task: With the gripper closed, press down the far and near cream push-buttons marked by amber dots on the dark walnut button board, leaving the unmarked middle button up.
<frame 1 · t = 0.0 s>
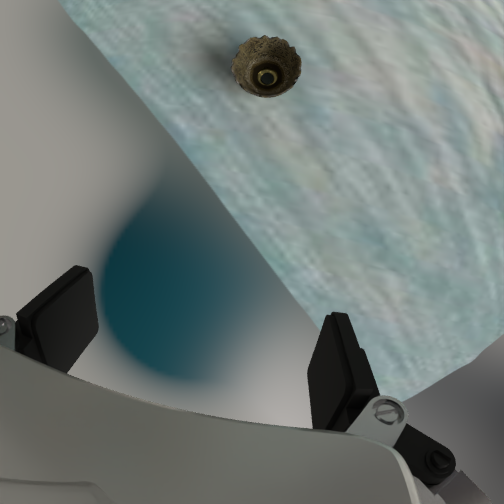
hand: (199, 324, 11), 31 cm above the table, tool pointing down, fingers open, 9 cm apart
dark tapered rough piece: (267, 78, 35), on the table
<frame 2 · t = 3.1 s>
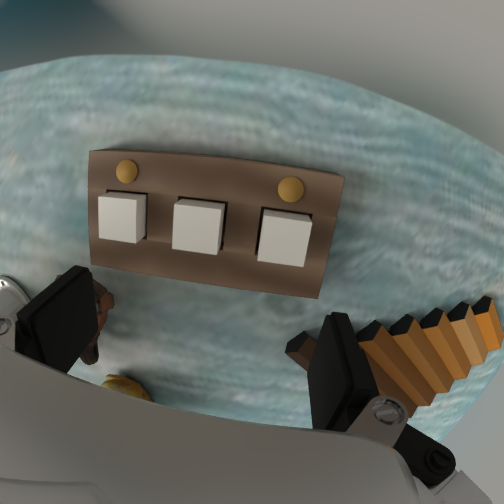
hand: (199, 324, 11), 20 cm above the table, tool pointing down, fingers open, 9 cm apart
button middle: (198, 225, 26), point 4 cm above the table, slide at 0.0 cm
button board: (206, 215, 30), on the table
pan flute: (412, 338, 35), on the table
pottery mug: (90, 305, 35), on the table
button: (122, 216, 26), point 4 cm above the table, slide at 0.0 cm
decorative figurine: (134, 388, 40), on the table
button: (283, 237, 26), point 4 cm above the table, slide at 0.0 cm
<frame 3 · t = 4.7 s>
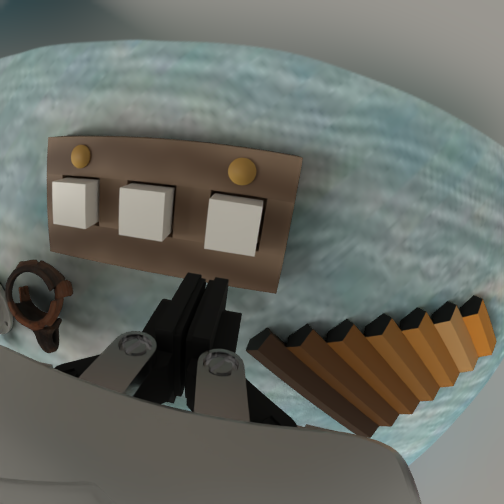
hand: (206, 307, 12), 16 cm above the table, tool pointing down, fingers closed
button middle: (146, 210, 24), point 4 cm above the table, slide at 0.0 cm
button board: (160, 201, 27), on the table
pan flute: (391, 340, 33), on the table
pottery mug: (53, 294, 33), on the table
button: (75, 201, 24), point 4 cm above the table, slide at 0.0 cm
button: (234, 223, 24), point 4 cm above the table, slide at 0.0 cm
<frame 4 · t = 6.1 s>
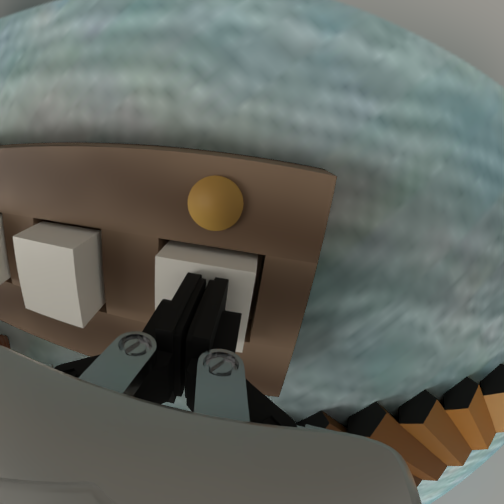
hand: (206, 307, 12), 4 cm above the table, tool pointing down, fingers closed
button middle: (59, 271, 13), point 4 cm above the table, slide at 0.0 cm
button board: (94, 245, 16), on the table
pan flute: (427, 412, 21), on the table
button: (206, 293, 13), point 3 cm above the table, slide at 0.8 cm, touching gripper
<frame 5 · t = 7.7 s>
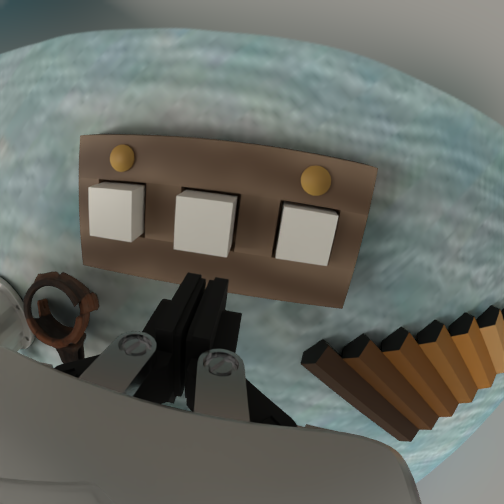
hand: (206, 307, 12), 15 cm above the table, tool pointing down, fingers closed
button middle: (205, 222, 22), point 4 cm above the table, slide at 0.0 cm
button board: (215, 210, 26), on the table
pan flute: (438, 345, 30), on the table
pottery mug: (75, 307, 32), on the table
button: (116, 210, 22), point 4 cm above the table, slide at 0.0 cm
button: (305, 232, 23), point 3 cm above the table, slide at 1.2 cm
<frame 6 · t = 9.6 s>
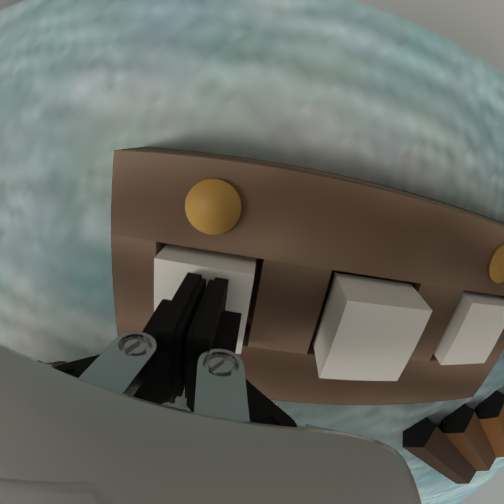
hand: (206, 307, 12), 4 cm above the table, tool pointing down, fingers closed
button middle: (368, 330, 12), point 4 cm above the table, slide at 0.0 cm
button board: (350, 291, 16), on the table
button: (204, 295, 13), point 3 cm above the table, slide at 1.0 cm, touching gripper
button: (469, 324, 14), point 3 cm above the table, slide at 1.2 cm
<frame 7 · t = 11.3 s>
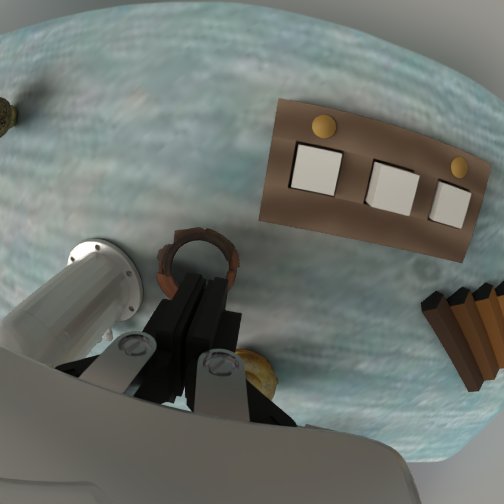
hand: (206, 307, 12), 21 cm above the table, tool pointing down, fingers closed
button middle: (392, 188, 26), point 4 cm above the table, slide at 0.0 cm
dark tapered rough piece: (14, 116, 30), on the table
button board: (380, 181, 29), on the table
pottery mug: (203, 268, 36), on the table
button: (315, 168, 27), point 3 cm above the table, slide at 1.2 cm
decorative figurine: (250, 363, 41), on the table
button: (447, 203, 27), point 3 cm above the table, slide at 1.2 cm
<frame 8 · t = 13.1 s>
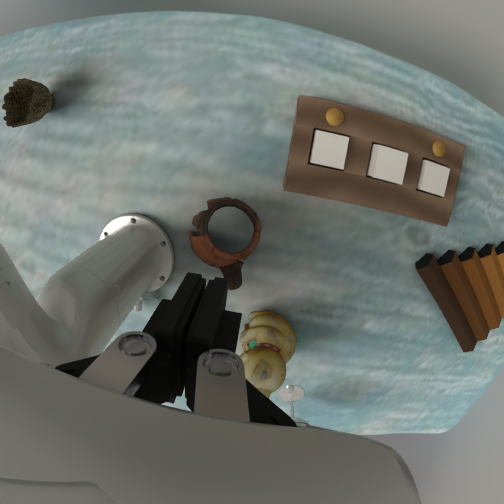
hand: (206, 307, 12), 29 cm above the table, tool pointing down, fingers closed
button middle: (387, 164, 33), point 4 cm above the table, slide at 0.0 cm
dark tapered rough piece: (49, 103, 35), on the table
button board: (377, 161, 37), on the table
pan flute: (487, 266, 41), on the table
pottery mug: (227, 236, 42), on the table
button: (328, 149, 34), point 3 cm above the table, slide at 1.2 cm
wineglass: (291, 393, 52), on the table
decorative figurine: (269, 327, 47), on the table
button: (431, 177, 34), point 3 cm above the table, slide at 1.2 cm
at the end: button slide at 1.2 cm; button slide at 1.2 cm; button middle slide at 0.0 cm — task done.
